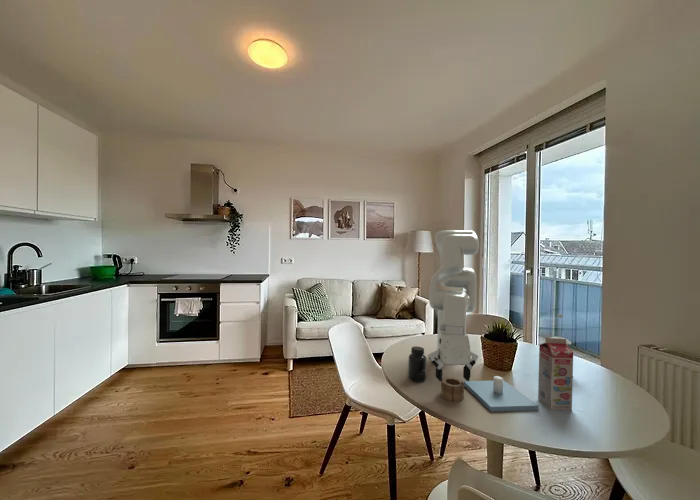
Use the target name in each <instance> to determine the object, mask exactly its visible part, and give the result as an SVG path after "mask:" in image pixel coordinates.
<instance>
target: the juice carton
mask: <svg viewBox="0 0 700 500" xmlns="http://www.w3.org/2000/svg"><path fill="white" fill-rule="evenodd" d="M566 339H567V338H565V339H557V338H551V337H545V340H544V341H545V343H544V342H543V343H540V344H539V347H538V349H539V351H538V354H539V355H538V386H537V387H538V389H537V390H538V391H537V400H539V402H540V403H542V404H543V405H544V406H545V407H547V408H548V409H549V410H550V411H573V410H572V409H573V381H574V380H573V379H574V376H573V374H574V351H573V350H572V349H571V348H570V347H569V345H566Z"/></svg>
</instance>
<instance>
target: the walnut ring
mask: <svg viewBox="0 0 700 500" xmlns="http://www.w3.org/2000/svg"><path fill="white" fill-rule="evenodd" d="M440 384H441V385H440V387H441V388H440V395H441V397H442V398H443V399H444V400H447V401H450V402H454V403H455V402H462V401H463V400H464V399H465V386H464V381H462V380H461V379H459V378H456V377H452V376H451V377H450V376H449V377H448V376H446V377H442V381H440Z"/></svg>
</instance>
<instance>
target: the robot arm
mask: <svg viewBox="0 0 700 500" xmlns="http://www.w3.org/2000/svg"><path fill="white" fill-rule="evenodd" d="M434 241H435V242H434V243H435V246H436V249H437V252H438V255H439V257H440V258H439V260H440V262H439V263H440V265H439V269H437V271H435V272H434V274H433V275H432V277H431V279H430V281H429V287H428V288H429V292H428V294H429V295H428V302H429V306H430V307H431V309H432V310H435V311H437V338H436V339H437V340H436V341H437V342H436V343H437V345H436V350H435V351H433V352H431V353H429V354H428V355H427V356H428V358H429V360H430V362H431V364H432V365H433V366H434V367H435V378H436V380H438V381H439V382H441V381H442V379H443V369H442V367H444V365H445V366H463V367H462V368H463V370H462V371H463V373H462V374H463V375H462V376H463V377H462V378H463V379H465V381H471V380H470V379H471V370H472V369H473V367H474V366H475V365H476V364H477V363H476V362H477V360H478V359H479V356H478V354H476V353H474V352H473V351H472V350H471V345H470V344H471V343H470V337H469V334H467V333H466V329H467V326H466V323H467V313H473V312H474V311H476V307H477V282H478V281H477V274H476V271H475V269H473V268H471V267H465V261H464V260H465V259H464V257H465V256H466V255H467V256H468V255H470V256H474V255H477V254H478V253H479V251H480V250H479V249H480V241H479V237H478V235H477V234H476V232H475V231H474V230H471V229H469V230H466V229H465V230H463V229H462V230H459V229H458V230H457V229H446V230H439V231H437V232H436V233H435V236H434ZM464 255H465V256H464ZM439 283H440V284H441V286H443V287H445V288H453V289H452V290H451V289H450V290H449V289H437V288H438V285H439ZM455 288H456V289H465V290H454V289H455ZM436 359H437V360H436Z"/></svg>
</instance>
